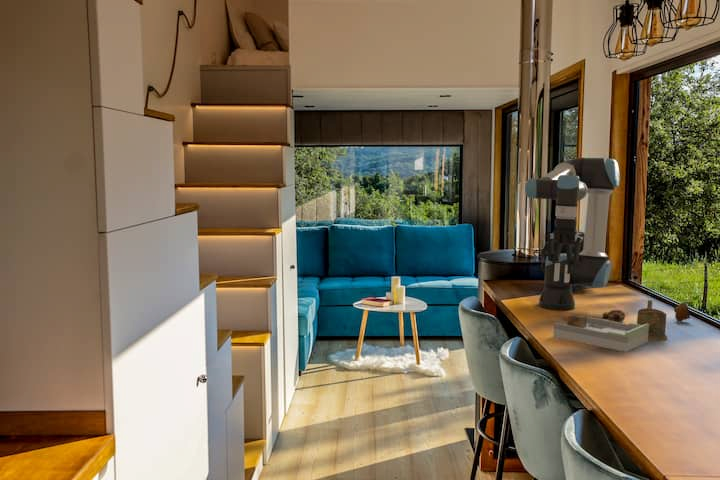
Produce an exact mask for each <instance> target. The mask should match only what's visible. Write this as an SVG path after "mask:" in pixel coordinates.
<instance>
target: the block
mask: <svg viewBox="0 0 720 480" xmlns="http://www.w3.org/2000/svg"><path fill="white" fill-rule="evenodd" d="M587 317H588V316H587V315H585V314H584V315H583V314H579V313H572V314H568V315H567V323H566V324H567V325H569V326H574V327H579V328H584V327H586V323H587Z"/></svg>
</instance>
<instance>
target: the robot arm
mask: <svg viewBox="0 0 720 480" xmlns="http://www.w3.org/2000/svg"><path fill="white" fill-rule="evenodd" d="M620 180H621V179H620V167H619V164H618V162H617V160H616V159H614V158H607V157H576V158H571V159H568V160H566V161H563V162H561V163H558V164H557V165H556V166H555V167H554V168H553V170H551V171H550V172H548V173H547V174H545V175H543V176H541V177H540V178H535V177H534V178H528V179H527V180H526V182H525V185H524V186H525V187H524V192H525V193H524V194H525V195H526V197H527V198H529V199H534V200H536V199H539V200H541V199H542V200H554V201H555V218H554V230H553V232H552V233H547V234H546V240H547V241H548V256H547V258H546V264H545V274H544V282H543V289H542V291H541V294H540V296H539V299H538V306H539V307H541V308H544V309H549V310H557V311H571V310H574V309H575V308H576V302H575V298H574V294H573V290H572V285H580V286H587V287H591V288H598V289H599V288H604V287H606V285H607V284H608V281H609V279H610V276H611V272H612V262H611V260H608V258H609V255H608V254H607V253H606V249H605V248H606V239H607V230H608V229H607V227H608V219H609V207H610V198H611V197H610V196H611V194H613V193H614V191H615V188H618V187H619V186H620ZM587 195H588V196H587ZM586 196H587V204H586V205H587V206H586V215H585V227H584V232H585V235H584V246H583V251H582V252H581V253H580V246H581V242H582V240H583V237H579V236H578V235H577V234H576V230H577V219H576V218H578V204H579V203H578V202H579V201H581V200H584V199H585V198H586ZM554 236H555V238H556V240H557V241H556V247H555V252H554ZM574 238H575V241H576V242H575V246H574V253H573V252H572V241H573V239H574ZM563 243H565V246H566V253H563V254H560V252H561V248H562V245H563Z"/></svg>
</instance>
